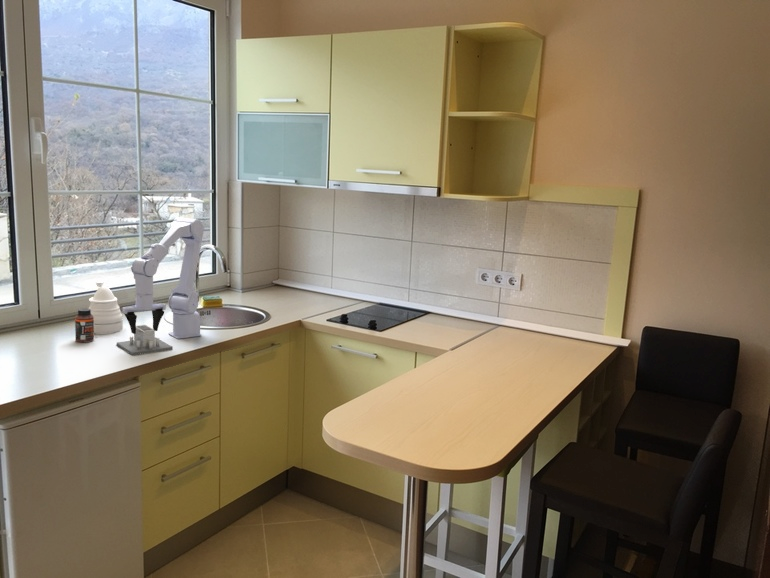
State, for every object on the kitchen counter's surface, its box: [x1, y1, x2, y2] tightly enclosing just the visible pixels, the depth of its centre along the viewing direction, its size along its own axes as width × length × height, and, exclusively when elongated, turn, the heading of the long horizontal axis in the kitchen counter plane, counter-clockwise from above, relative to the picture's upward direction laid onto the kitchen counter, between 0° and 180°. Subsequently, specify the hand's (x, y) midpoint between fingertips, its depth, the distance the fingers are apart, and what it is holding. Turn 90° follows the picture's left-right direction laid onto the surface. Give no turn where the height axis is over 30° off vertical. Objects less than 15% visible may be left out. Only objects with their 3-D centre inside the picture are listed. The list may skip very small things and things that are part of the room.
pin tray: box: [116, 336, 173, 356], centre depth 224 cm, size 14×14×4 cm
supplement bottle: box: [74, 307, 95, 343], centre depth 227 cm, size 6×6×11 cm
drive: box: [133, 324, 156, 348], centre depth 224 cm, size 8×4×6 cm, turn 42°
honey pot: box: [87, 280, 124, 334], centre depth 242 cm, size 13×13×18 cm
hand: (144, 331), depth 224 cm, fingers open, 7 cm apart
